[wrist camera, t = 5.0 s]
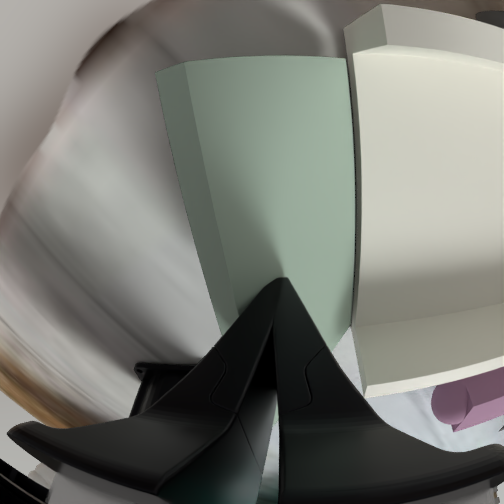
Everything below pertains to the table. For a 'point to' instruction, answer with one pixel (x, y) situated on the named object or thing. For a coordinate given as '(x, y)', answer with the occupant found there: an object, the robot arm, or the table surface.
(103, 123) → the table surface
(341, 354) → the table surface
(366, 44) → the wagon bed
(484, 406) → the dome-topped mauve block
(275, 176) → the panel
